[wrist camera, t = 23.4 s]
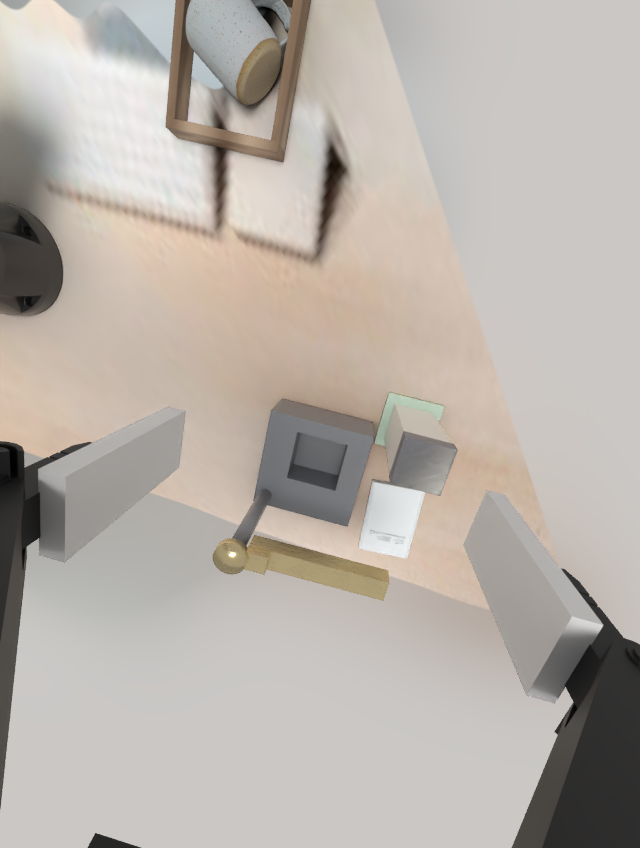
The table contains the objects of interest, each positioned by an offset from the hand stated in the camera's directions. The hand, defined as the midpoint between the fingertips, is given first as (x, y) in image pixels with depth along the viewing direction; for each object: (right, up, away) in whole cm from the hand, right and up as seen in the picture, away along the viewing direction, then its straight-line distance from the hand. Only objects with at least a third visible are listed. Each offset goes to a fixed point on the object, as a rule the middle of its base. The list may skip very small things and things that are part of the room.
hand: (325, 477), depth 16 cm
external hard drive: (+11, -13, +44) cm, 47 cm away
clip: (-2, -13, +26) cm, 29 cm away
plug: (+13, +2, +38) cm, 40 cm away
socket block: (-1, -2, +41) cm, 42 cm away
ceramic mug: (-8, +46, +28) cm, 55 cm away
